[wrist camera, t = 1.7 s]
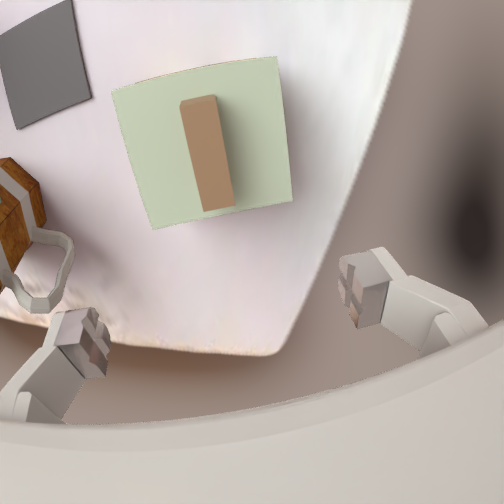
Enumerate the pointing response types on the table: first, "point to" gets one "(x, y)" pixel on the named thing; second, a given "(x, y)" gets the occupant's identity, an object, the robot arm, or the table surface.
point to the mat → (43, 65)
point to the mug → (26, 235)
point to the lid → (207, 140)
